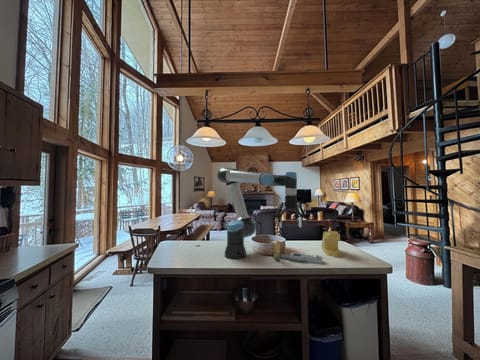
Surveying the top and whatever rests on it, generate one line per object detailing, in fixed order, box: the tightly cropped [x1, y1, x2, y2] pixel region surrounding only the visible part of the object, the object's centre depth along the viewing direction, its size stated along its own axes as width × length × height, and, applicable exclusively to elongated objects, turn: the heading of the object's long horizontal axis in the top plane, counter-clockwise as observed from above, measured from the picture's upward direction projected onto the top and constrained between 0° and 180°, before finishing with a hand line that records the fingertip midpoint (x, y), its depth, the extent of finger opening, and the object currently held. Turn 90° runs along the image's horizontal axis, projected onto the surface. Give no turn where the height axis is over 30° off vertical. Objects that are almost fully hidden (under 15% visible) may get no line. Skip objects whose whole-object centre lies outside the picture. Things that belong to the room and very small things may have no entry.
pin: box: [273, 240, 281, 262], centre depth 141 cm, size 4×4×12 cm
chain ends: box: [272, 252, 324, 265], centre depth 142 cm, size 31×9×4 cm, turn 68°
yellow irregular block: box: [321, 230, 341, 258], centre depth 158 cm, size 20×9×16 cm, turn 171°
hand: (290, 227), depth 144 cm, fingers open, 13 cm apart
